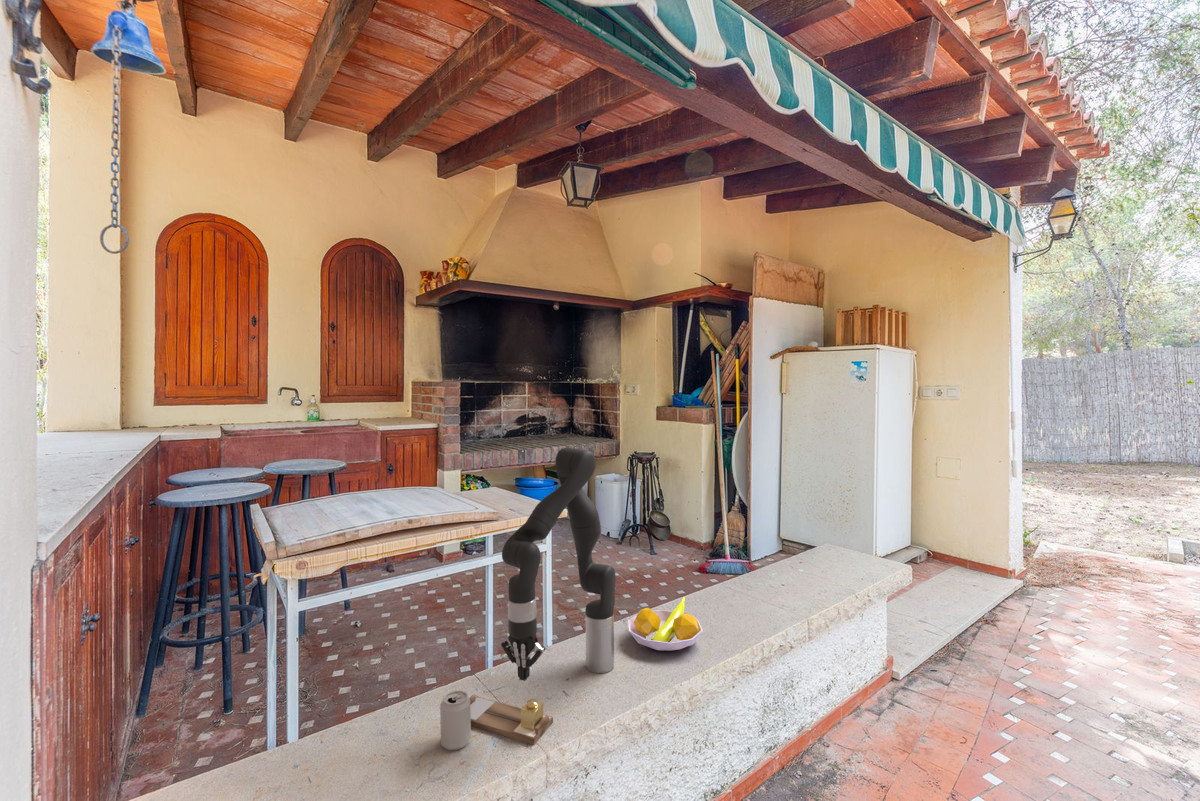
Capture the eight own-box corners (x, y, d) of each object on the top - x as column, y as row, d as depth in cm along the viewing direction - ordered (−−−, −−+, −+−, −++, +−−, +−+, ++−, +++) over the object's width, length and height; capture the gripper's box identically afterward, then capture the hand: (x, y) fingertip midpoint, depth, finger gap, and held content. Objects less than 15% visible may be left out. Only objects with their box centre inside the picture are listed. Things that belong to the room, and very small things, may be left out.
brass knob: (530, 715, 145) (530, 695, 145) (543, 719, 143) (543, 698, 143) (520, 726, 140) (520, 705, 140) (534, 729, 138) (533, 709, 138)
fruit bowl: (663, 668, 173) (663, 633, 172) (612, 637, 195) (612, 606, 194) (722, 643, 189) (722, 612, 189) (669, 617, 211) (668, 589, 211)
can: (435, 742, 137) (434, 696, 137) (461, 729, 142) (461, 684, 142) (449, 756, 132) (449, 708, 131) (476, 742, 137) (476, 696, 137)
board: (477, 701, 155) (476, 691, 155) (553, 722, 145) (552, 711, 145) (454, 721, 146) (454, 710, 146) (534, 744, 136) (534, 733, 136)
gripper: (551, 613, 143) (552, 676, 143) (509, 605, 148) (510, 666, 149) (536, 625, 136) (538, 691, 137) (493, 616, 141) (494, 680, 142)
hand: (523, 678), depth 143 cm, fingers closed
